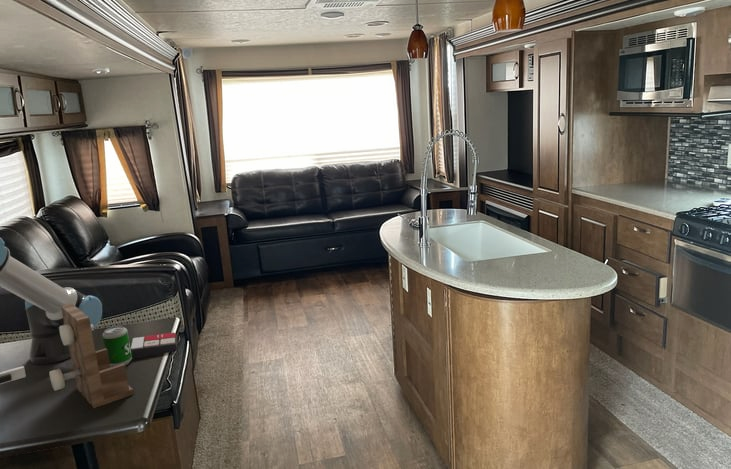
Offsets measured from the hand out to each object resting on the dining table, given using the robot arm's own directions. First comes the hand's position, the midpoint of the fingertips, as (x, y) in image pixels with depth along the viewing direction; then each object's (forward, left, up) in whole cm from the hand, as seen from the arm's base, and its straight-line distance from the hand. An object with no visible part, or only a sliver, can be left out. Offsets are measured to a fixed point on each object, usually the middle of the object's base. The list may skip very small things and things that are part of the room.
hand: (24, 371), depth 154 cm
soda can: (-17, +29, -13) cm, 36 cm away
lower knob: (0, +10, -8) cm, 13 cm away
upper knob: (0, +15, +4) cm, 15 cm away
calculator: (-20, +41, -14) cm, 48 cm away
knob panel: (0, +19, -13) cm, 23 cm away
